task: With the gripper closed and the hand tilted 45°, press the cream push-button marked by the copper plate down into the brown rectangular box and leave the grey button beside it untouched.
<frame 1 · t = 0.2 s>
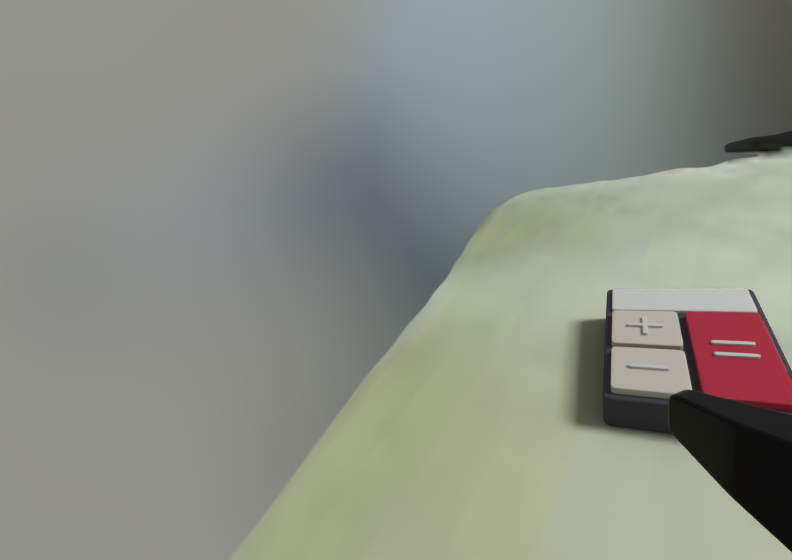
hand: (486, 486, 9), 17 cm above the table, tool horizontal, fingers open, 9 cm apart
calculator: (682, 374, 34), on the table
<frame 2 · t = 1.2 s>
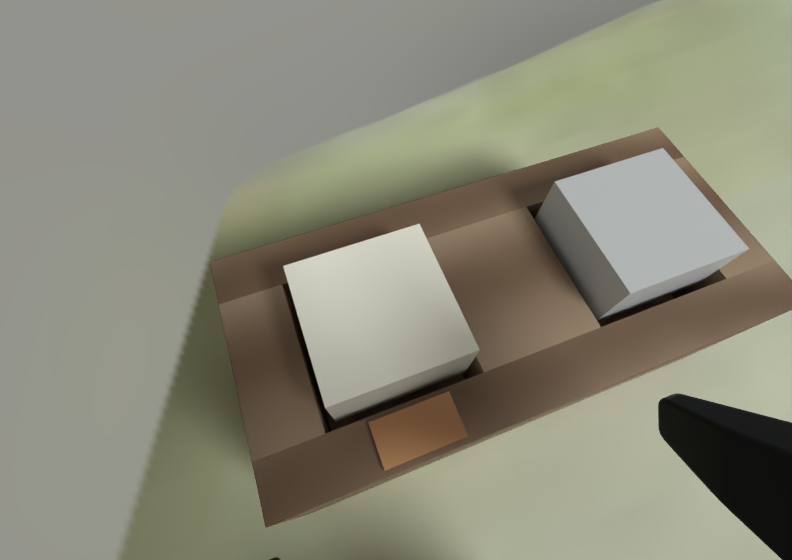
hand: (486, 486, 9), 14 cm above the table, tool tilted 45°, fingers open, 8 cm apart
brown rectangular box: (471, 342, 24), on the table
cream button: (378, 321, 16), point 8 cm above the table, slide at 0.0 cm
grey button: (628, 234, 18), point 8 cm above the table, slide at 0.0 cm
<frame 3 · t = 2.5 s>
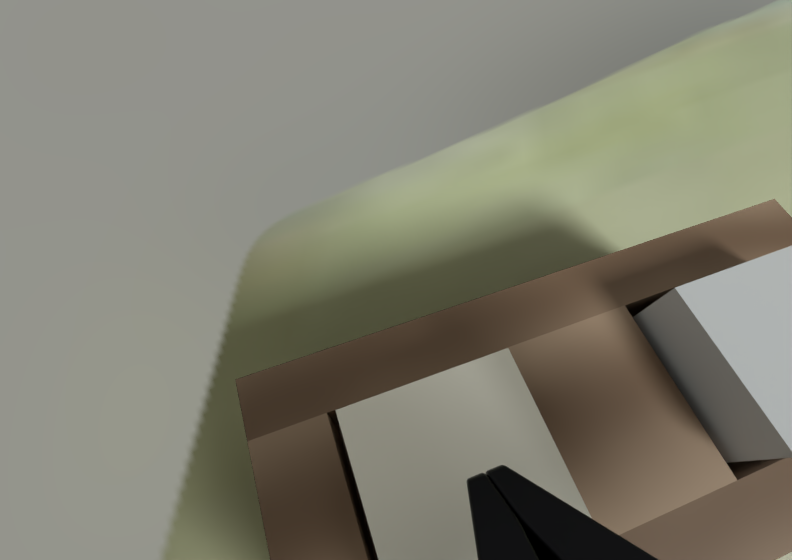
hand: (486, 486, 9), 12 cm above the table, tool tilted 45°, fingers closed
brown rectangular box: (533, 438, 21), on the table
cream button: (454, 475, 12), point 8 cm above the table, slide at 0.0 cm
grey button: (761, 350, 14), point 8 cm above the table, slide at 0.0 cm
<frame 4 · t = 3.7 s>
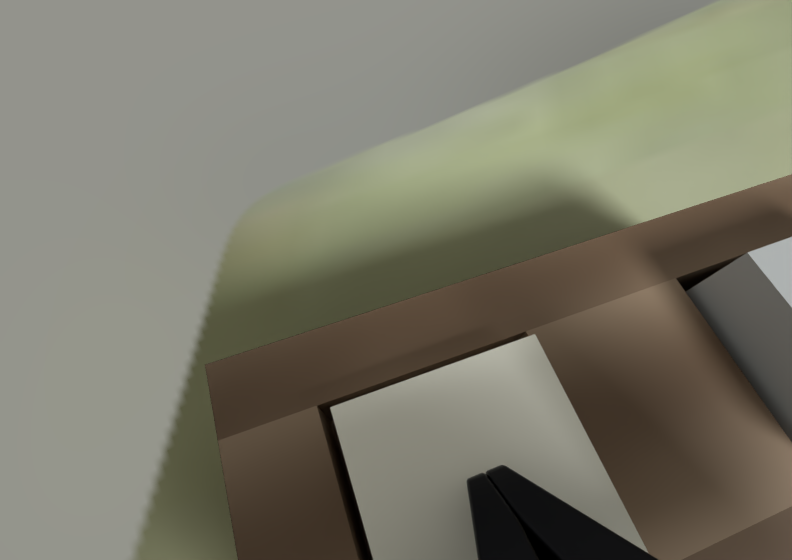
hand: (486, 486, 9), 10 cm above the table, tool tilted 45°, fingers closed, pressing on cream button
brown rectangular box: (554, 435, 18), on the table
cream button: (470, 484, 10), point 8 cm above the table, slide at 0.7 cm, touching gripper
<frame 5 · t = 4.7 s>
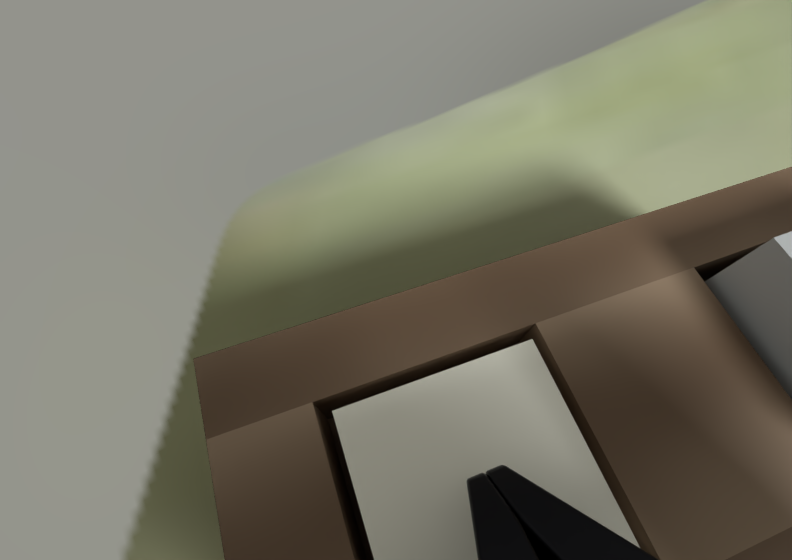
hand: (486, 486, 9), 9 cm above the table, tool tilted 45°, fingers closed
brown rectangular box: (562, 435, 17), on the table
cream button: (469, 486, 10), point 7 cm above the table, slide at 1.7 cm
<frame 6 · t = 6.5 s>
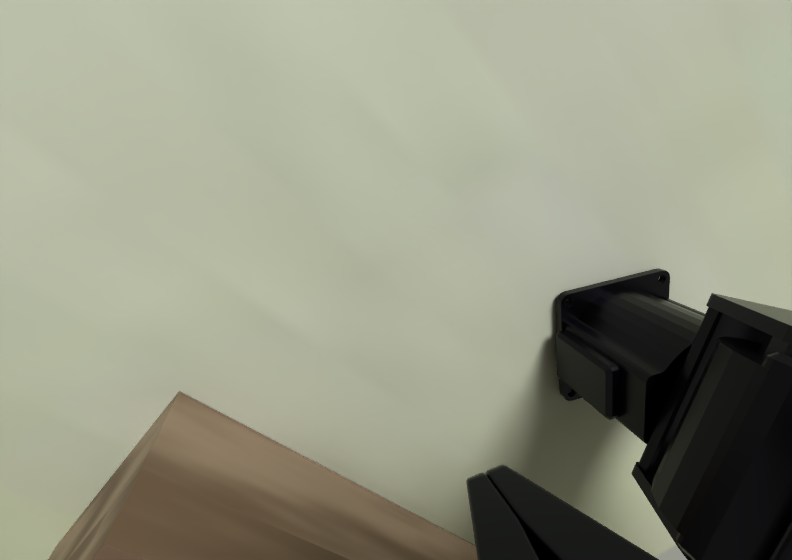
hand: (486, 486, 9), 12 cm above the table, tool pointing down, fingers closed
brown rectangular box: (307, 552, 24), on the table
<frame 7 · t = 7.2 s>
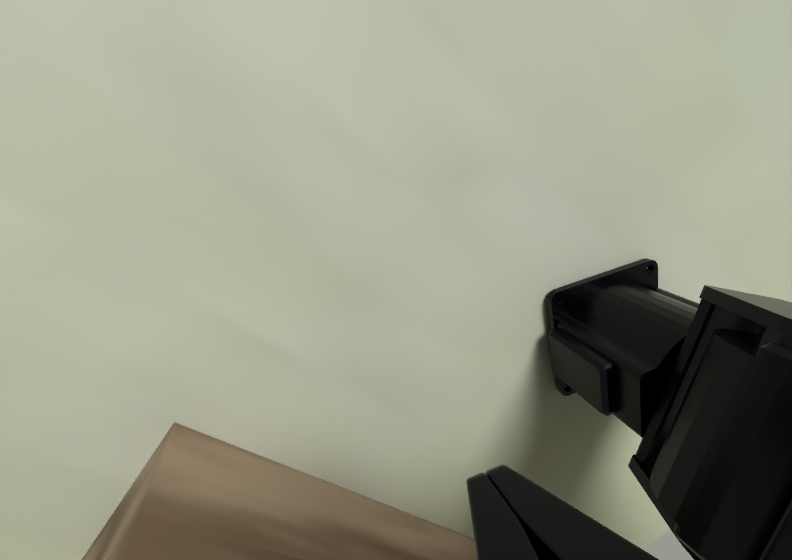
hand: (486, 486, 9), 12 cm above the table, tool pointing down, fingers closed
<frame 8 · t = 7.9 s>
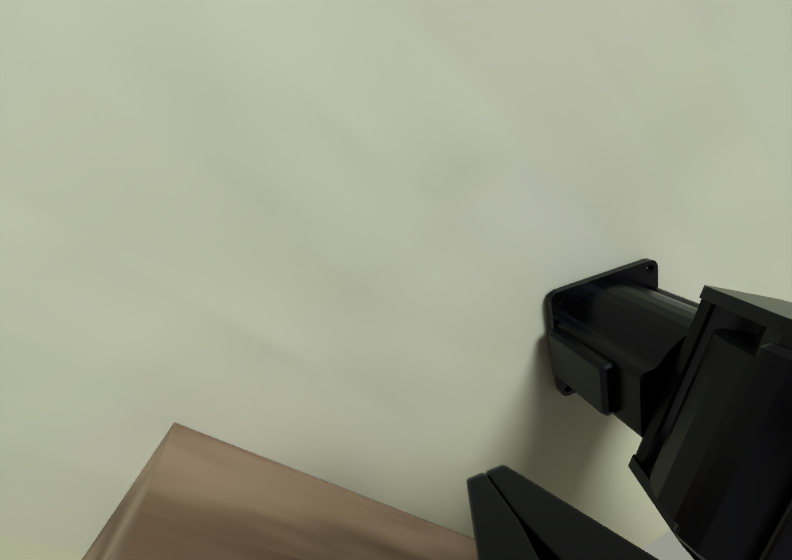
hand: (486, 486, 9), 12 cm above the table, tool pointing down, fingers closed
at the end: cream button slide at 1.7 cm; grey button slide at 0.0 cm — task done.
